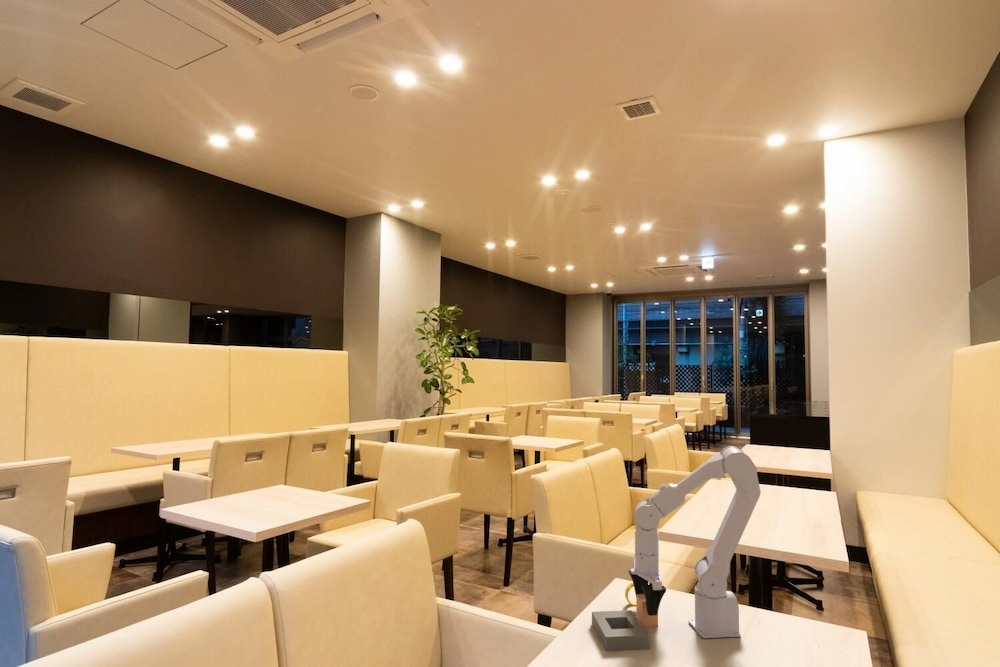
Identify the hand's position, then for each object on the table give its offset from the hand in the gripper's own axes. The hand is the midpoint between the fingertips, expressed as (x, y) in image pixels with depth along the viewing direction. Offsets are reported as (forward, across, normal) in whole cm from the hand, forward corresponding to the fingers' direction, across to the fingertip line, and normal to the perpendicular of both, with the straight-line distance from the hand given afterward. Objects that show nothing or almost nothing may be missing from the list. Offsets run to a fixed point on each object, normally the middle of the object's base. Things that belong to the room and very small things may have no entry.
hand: (646, 607), depth 134 cm
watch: (+4, -9, +1) cm, 10 cm away
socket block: (+4, +6, -9) cm, 11 cm away
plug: (+4, 0, 0) cm, 4 cm away
